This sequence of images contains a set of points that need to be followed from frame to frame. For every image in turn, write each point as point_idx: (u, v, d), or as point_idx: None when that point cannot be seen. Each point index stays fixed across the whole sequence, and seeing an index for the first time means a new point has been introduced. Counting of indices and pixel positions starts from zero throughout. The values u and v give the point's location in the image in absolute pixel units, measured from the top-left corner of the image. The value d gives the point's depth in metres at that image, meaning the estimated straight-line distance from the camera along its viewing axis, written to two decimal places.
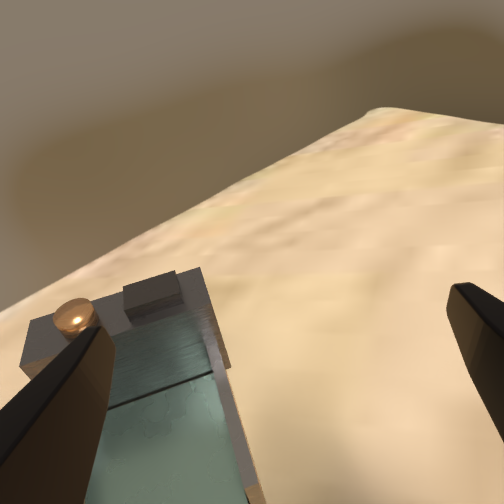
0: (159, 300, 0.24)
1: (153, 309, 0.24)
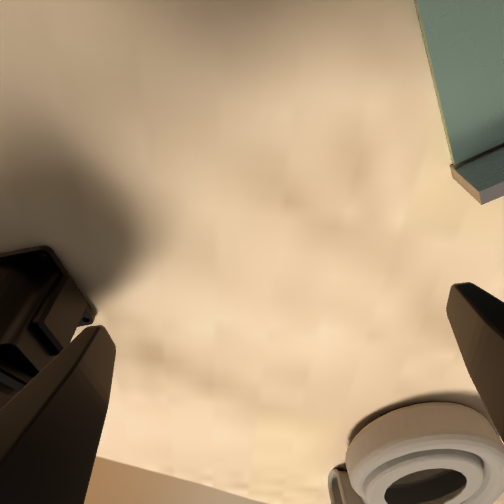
0: None
1: None
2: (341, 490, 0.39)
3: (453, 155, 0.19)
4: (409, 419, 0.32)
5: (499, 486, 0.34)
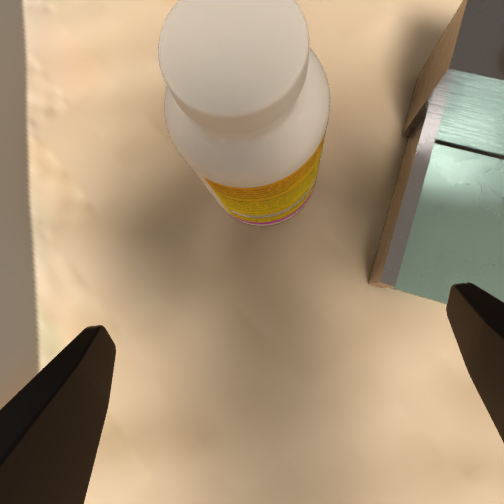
0: None
1: None
2: None
3: None
4: None
5: None
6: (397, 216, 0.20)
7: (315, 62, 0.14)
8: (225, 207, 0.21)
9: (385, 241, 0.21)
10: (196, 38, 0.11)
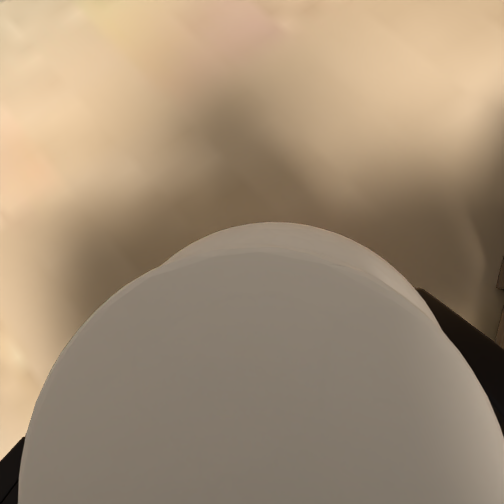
0: None
1: None
2: None
3: None
4: None
5: None
6: None
7: None
8: None
9: None
10: (137, 463, 0.04)
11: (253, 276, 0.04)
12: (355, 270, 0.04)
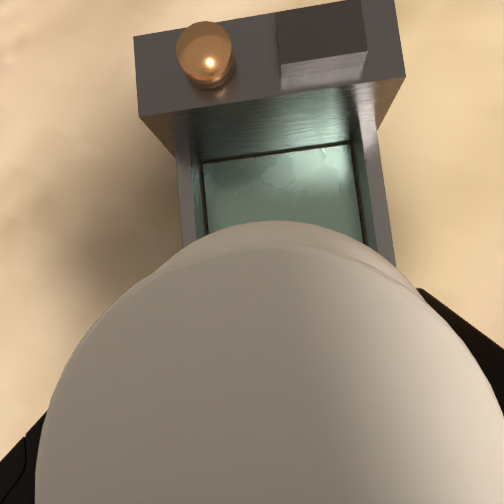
0: (334, 58, 0.16)
1: (319, 68, 0.16)
2: None
3: None
4: None
5: None
6: None
7: None
8: None
9: None
10: (154, 454, 0.04)
11: (266, 271, 0.04)
12: (364, 265, 0.04)
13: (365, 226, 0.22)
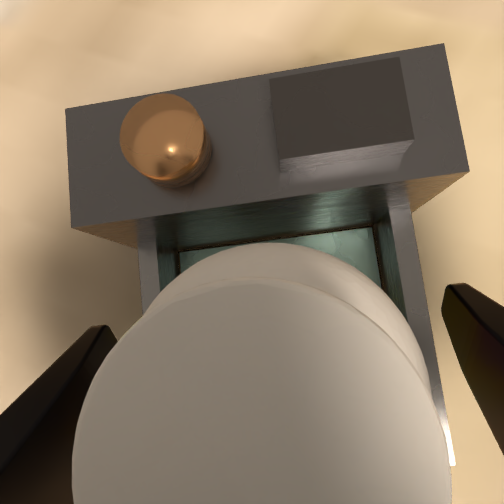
0: (361, 149, 0.10)
1: (338, 160, 0.11)
2: None
3: None
4: None
5: None
6: None
7: (410, 352, 0.07)
8: None
9: None
10: (164, 447, 0.05)
11: (253, 302, 0.05)
12: (331, 298, 0.05)
13: None
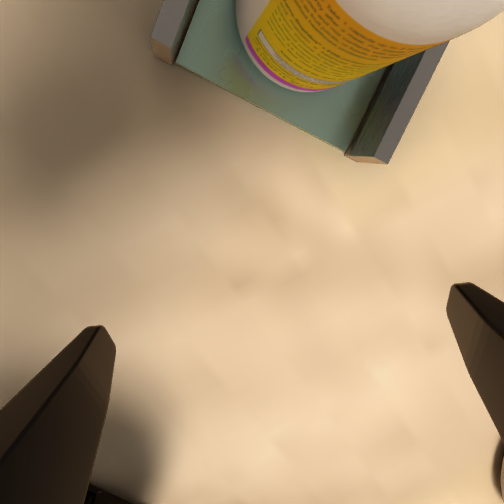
0: None
1: None
2: None
3: (337, 146, 0.19)
4: None
5: None
6: None
7: None
8: (254, 22, 0.14)
9: None
10: None
11: None
12: None
13: (390, 75, 0.18)
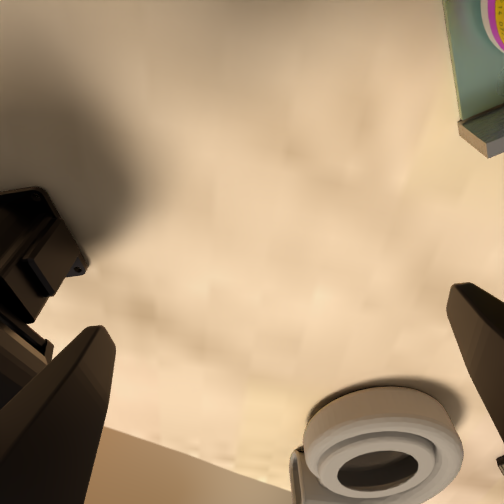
0: None
1: None
2: (300, 470, 0.39)
3: (462, 109, 0.19)
4: (363, 401, 0.33)
5: (450, 471, 0.35)
6: None
7: None
8: None
9: None
10: None
11: None
12: None
13: None
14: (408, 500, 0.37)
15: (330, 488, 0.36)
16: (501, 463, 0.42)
